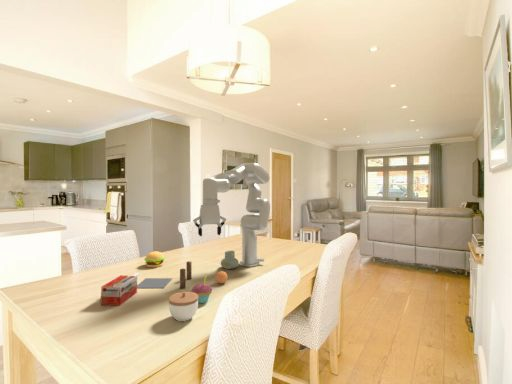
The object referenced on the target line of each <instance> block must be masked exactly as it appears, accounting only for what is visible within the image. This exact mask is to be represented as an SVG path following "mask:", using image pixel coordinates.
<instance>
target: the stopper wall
mask: <svg viewBox="0 0 512 384" xmlns="http://www.w3.org/2000/svg"><path fill="white" fill-rule="evenodd" d="M140 274H141V273H140V272H135V273H134V274H132V275H131V276H137V280H139V279H140V277H141V275H140Z"/></svg>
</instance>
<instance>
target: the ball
mask: <svg viewBox="0 0 512 384" xmlns="http://www.w3.org/2000/svg"><path fill="white" fill-rule="evenodd" d="M215 280H216V282H217V283H219V284H224V283H226V282H227V280H228V274H227V272H225V271H223V270H220V271H218V272H217V273H216V274H215Z"/></svg>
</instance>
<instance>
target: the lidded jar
mask: <svg viewBox="0 0 512 384" xmlns="http://www.w3.org/2000/svg"><path fill="white" fill-rule="evenodd" d="M198 298H199V296H198V294H196V293H194V292H192V291H180V292H177V293H173V294H172V295H170V296H169V297H168V310H169V313H170V315H171V316H172V318H173V319H176V320H178V321H177V322H179V321H184V322H186V321H185V320H188V321H190V320H191V319H192V318H193V317H194V316H195V315H196V313H197V311H198V307H199V303H198ZM189 319H190V320H189ZM176 320H175V321H176Z"/></svg>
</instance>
